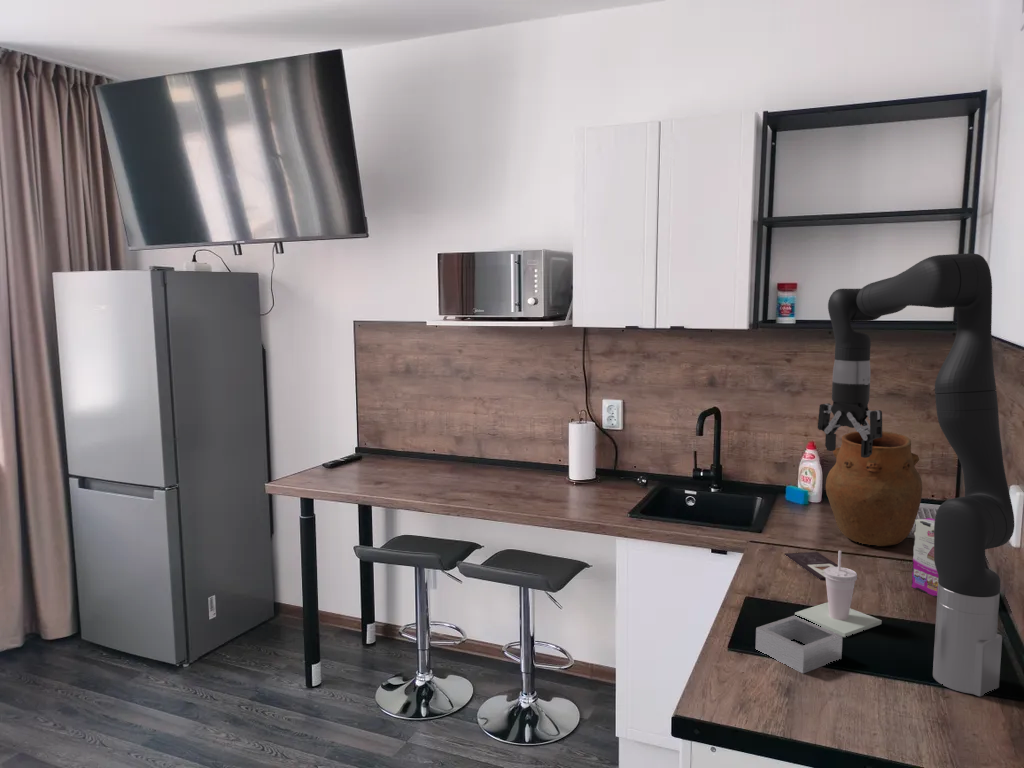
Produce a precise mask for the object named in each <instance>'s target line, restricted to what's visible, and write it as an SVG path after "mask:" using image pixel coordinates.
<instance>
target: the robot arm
mask: <svg viewBox="0 0 1024 768" xmlns="http://www.w3.org/2000/svg"><path fill="white" fill-rule="evenodd" d="M992 282H993V281H992V273H991V268H990V266H989V264H988V261H987V260H986V259H985V258H984V256H982V255H981V254H978V253H972V252H971V253H955V254H954V253H953V254H939V255H938V254H937V255H933V256H932V255H931V256H929V257H926V258H924V259H922V260H921V261H919V262H916V263H915V264H914V265H912V266H911V267H909V268H908V269H905V270H904V271H902V272H900V273H899V274H896V275H894V276H891V277H888V278H884V279H881V280H877V281H874V282H870V283H868V284H866V285H864V286H863V287H862V288H838V289H835V290H834V291H833V292H832V294H831V295H830V297H829V299H828V302H827V309H828V314H829V319H830V322H831V326H832V331H833V336H834V343H835V344H834V345H835V346H834V347H835V348H834V363H833V368H832V387H831V388H832V389H831V400H832V404H831V403H830V402H829V403H821V404H820V405H819V411H818V420H817V429H818V430H819V431H822V432H824V434H825V441H824V442H825V444H824V446H825V448H826V451H827V452H828V451H829V452H833V451H834V450H835V449H836V448H837V447H836V445H837V431H838V429H840V428H841V427H848V428H852V429H853V428H854V430H855V432H856V431H857V432H859V433H860V435H861V437H862V439H863V440H862V443H861V457H863V458H867V457H870V455H871V454H872V444H873V440H874V439H877V438H881V437H882V431H883V411H882V410H879V409H878V410H876V409H875V410H871V409H869V407H868V404H869V403H870V396H871V395H870V394H871V393H870V392H871V345H872V344H871V343H872V341H871V336H870V335H869V334H868V333H865V332H861V331H856V330H854V329H853V326H852V323H851V322H869V321H870V322H871V321H876V320H877V319H880V318H881V317H882V316H883V317H884V316H887V315H892V314H895V313H898V312H900V311H903V310H904V309H905V308H907V307H909V306H911V307H913V306H914V307H928V308H934V309H943V308H945V309H946V308H956V314H957V315H956V316H957V317H956V320H957V321H956V323H957V324H956V335H955V337H954V341H953V344H952V346H951V348H950V350H949V353H948V354H947V356H946V358H945V360H944V361H943V363H942V365H941V366H940V369H939V371H938V373H937V376H936V378H935V382H934V399H935V406H936V407H935V408H936V416H937V421H938V424H939V427H940V429H941V431H942V433H943V434H944V437H945V438H946V440H947V441H948V444H949V445H950V446H951V448H952V449H953V451H954V453H955V454H956V456H957V458H958V461H959V462H960V466H961V469H962V474H963V485H964V496H961V497H960V496H959V497H953V498H950V499H947V500H945V501H944V502H942V503H941V504H940V506H939V507H938V509H937V511H936V514H935V516H934V517H935V518H934V519H935V523H934V562H935V567H936V569H937V572H938V593H937V597H936V609H935V610H936V611H935V612H936V613H935V625H934V626H935V628H934V629H935V630H934V647H933V663H932V666H933V667H932V677H933V679H934V680H935V681H936V682H938V683H939V684H940V685H942V684H943V685H942V686H943V687H946V688H948V689H950V690H953V691H957V692H959V693H960V692H961V693H963V694H964V693H965V694H971V695H975V696H977V697H983V696H985V695H986V694H985V693H987V692H989V691H991V692H993V691H995V690H997V689H999V688H1000V678H1001V677H1000V676H1001V675H1000V674H1001V661H1002V660H1001V658H1002V647H1003V645H1002V644H1003V636H1002V634H999V633H998V623H999V608H1000V596H1001V595H1000V592H1001V578H1000V576H999V574H997V573H996V572H995V571H993V570H991V569H989V568H987V567H986V550H989V549H990V550H991V549H993V548H998V547H1002V546H1004V545H1005V544H1007V543H1008V542H1009V541H1010V540H1011V539H1012V537H1013V534H1014V531H1015V514H1014V509H1013V504H1012V499H1011V493H1010V490H1009V486H1008V480H1007V475H1006V470H1005V465H1004V464H1005V463H1004V458H1003V449H1002V439H1001V431H1000V420H999V419H1000V418H999V415H1000V414H999V403H998V391H997V385H996V378H995V369H994V367H995V366H994V356H993V341H992V340H993V339H992V336H993V335H992V323H993V322H992V319H993V318H992V317H993V315H992V311H993V283H992ZM831 414H832V415H833V417H832V418H831ZM867 418H868V420H869V422H868V420H867ZM830 419H831V420H830ZM994 689H995V690H994ZM992 690H993V691H992ZM989 693H990V692H989ZM984 694H985V695H984ZM987 694H988V693H987Z"/></svg>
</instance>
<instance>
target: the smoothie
mask: <svg viewBox="0 0 1024 768" xmlns="http://www.w3.org/2000/svg"><path fill="white" fill-rule="evenodd" d="M837 553H838V557H837V560H838V561H837V565H838V567H828V568H826V569H825V570H824V576H825V577H826V580H825V584H826V594H827V602H828V608H829V616H830V617H831V618H834V619H837V620H846V619H848V616H849V611H850V608H851V606H852V601H853V600H852V599H853V593H854V587H855V585H856V584H855V583H856V581H857V580H858V574H857V572H856V571H854V570H853V569H850V568H847V567H842V550H838V552H837Z"/></svg>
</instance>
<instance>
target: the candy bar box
mask: <svg viewBox="0 0 1024 768" xmlns="http://www.w3.org/2000/svg"><path fill="white" fill-rule="evenodd" d="M934 523H935V518H931V517H925V518H919V519H918V518H917V519H915V522H914V533H913V534H914V535H913V551H912V552H913V553H912V554H913V555H912V571H911V572H912V573H911V588H913V589H915V590H917V591H920V592H923V593H924V594H928V595H929V596H932V597H934V598H937V593H938V572H937V569H936V567H935V562H934Z"/></svg>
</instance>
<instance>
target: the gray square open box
mask: <svg viewBox="0 0 1024 768" xmlns="http://www.w3.org/2000/svg"><path fill="white" fill-rule="evenodd" d="M793 639H795V640H797V641H800V642H802V643H803V644H805V645H803V644H800V643H798V642H796V641H791V640H793ZM755 649H756V650H758V651H760V652H762V653H764V654H767V655H769V656H770V657H772V658H774V659H776V660H777V662H778V661H779V663H780V662H781V663H780V664H782V663H783V665H784V664H786V665H787V667H788V666H789V667H788V668H790V667H791V669H792V668H793V670H795V671H797V672H799V673H801V674H806V673H808V672H811V671H814V670H817V669H818V668H821V667H824V666H826V664H827V665H829V664H831V663H830V662H832V663H834V662H833V661H835V662H837V661H839V659H840V660H842V654H843V653H842V652H843V636H842V635H839V634H837V633H834V632H832V631H830V630H827V629H825V628H823V627H820V626H818V625H816V624H813V623H811V622H808V621H806V620H804V619H801V618H799V617H797V616H795V615H791V616H788V617H785V618H782V619H778V620H776V621H773V622H770V623H766V624H763V625H761V626H757V627H756V628H755ZM756 650H755V651H756ZM758 651H757V652H758ZM760 652H759V653H760ZM762 653H761V654H762ZM764 654H763V655H764ZM770 657H769V658H770ZM772 658H771V659H772ZM774 659H773V660H774ZM776 660H775V661H776ZM836 660H837V661H836ZM828 663H829V664H828ZM786 665H785V666H786Z"/></svg>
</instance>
